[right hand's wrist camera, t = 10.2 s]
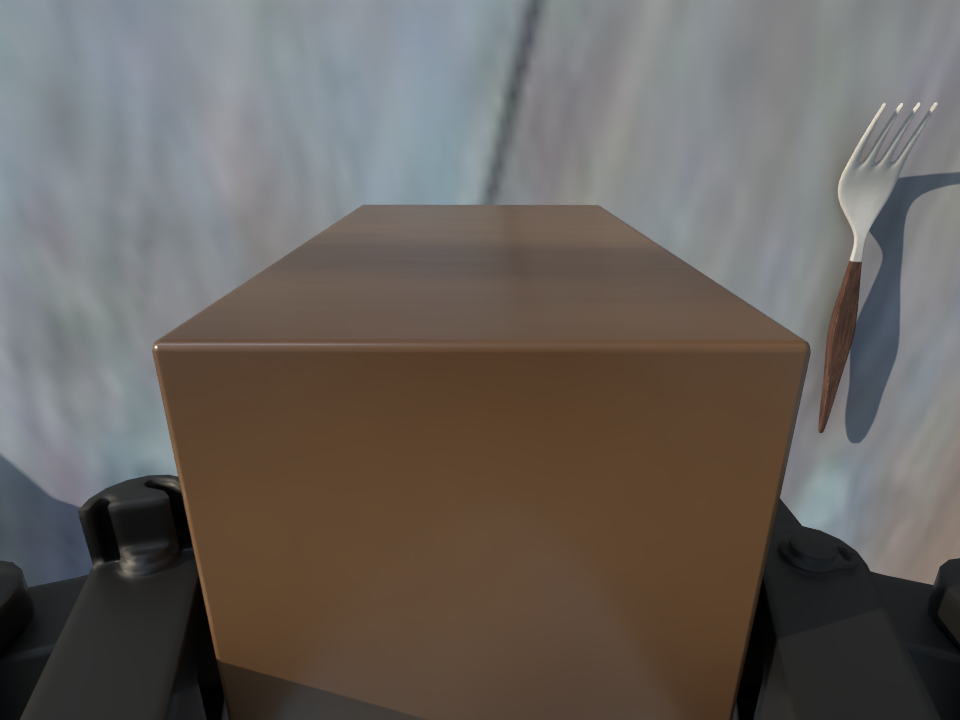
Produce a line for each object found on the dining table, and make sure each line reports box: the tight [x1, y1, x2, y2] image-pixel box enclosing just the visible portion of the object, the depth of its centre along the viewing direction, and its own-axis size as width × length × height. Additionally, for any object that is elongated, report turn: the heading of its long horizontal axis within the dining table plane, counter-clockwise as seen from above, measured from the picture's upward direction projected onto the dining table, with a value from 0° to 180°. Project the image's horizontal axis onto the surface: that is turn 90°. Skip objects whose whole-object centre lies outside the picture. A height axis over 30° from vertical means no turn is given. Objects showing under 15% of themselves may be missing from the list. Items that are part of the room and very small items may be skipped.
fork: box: [819, 102, 938, 433], centre depth 28 cm, size 3×16×2 cm, turn 1°
